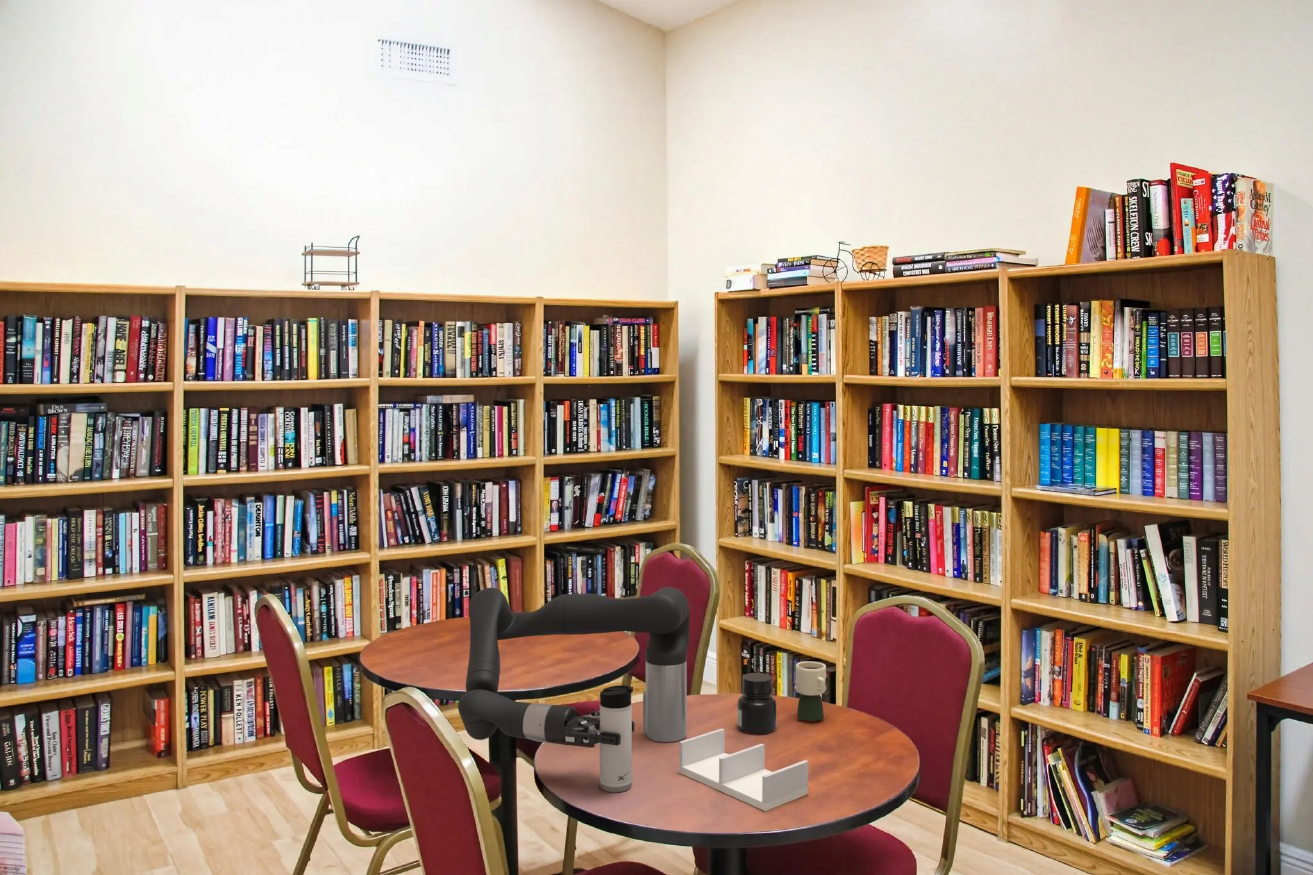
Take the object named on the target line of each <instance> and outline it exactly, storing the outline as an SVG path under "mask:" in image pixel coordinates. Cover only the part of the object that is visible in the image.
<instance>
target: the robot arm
mask: <svg viewBox="0 0 1313 875" xmlns="http://www.w3.org/2000/svg"><path fill="white" fill-rule="evenodd" d="M468 615H469V634H470V635H469V638H470V639H469V655H468V656H469V657H468V665H467V673H466V679H465V693H464V694H462V696H461V697H460V698H459V700H458V703H457V710H458V714H459V716H460V718H461V721H462V724H463V726H464V728H465V731H466V733H467V734H468V735H469V737H470V738H472V739H474V740H477V741H484V740H487V739H489V738H490V737H492V736H493V735H494V733H495V732H496V731H497V729H498V728H499V730H500V731H501V732H502V733H503V734H504V735H505V736H508V737H511V738H519V739H526V740H530V741H535V742H539V743H546V744H553V745H554V744H555V745H560V746H561V745H563V746H571V747H572V746H573V747H579V748H581V747H582V748H590V749H591V748H595V745H596V746H600V745H601V743H602V744H609V745H616V746H618V745H619V744H620V743H621V735H620V734H619V733H613V732H605V731H603V732H602V733H601V731H600V710H599V711H598V710H591V711H590V714H584V715H581V716H580V714H578V711H577V709H576V708H575V707H574V706H568V705H560V704H552V703H546V702H545V703H544V702H543V703H541V702H539V703H537V702H536V703H534V702H533V703H531V702H526V701H515V700H512V699H511V698H509V697H506V696H503V695H501V694H499V684H500V675H501V658H500V650H499V642H498V641H503V640H504V641H505V640H510V639H511V640H512V639H519V638H520V639H521V638H527V637H536V636H537V637H539V636H540V637H541V636H557V635H562V636H565V635H566V636H570V635H571V636H573V635H574V636H575V635H593V634H594V635H596V634H609V633H617V632H618V633H619V632H629V633H642V634H643V633H645V634H648V635H649V637H648V640H647V641H648V642H647V644H646V648H645V690H644V691H643V692H642V733H643V734H645V737H646V738H647V739H649V740H651V741H654V742H660V743H673V742H678V741H679V742H680V741H683V740H684V739H685V738H686V737H687V716H688V715H687V714H688V713H687V708H688V707H687V696H688V695H687V690H688V689H687V680H688V678H687V677H688V676H687V671H688V670H687V661H688V658H687V657H688V655H687V654H688V650H689V643H690V618H691V617H690V616H691V615H690V604H689V601H688V598H687V597H686V595H685V594H684V592H682V591H681V589H678V588H676V587H672V586H666V587H661V588H660V589H658V590H657V591H655V592H654V593H653V594H651V595H646V596H640V597H639V596H638V597H632V598H630V597H629V598H614V597H610V596H606V595H603V594H596V593H568V594H567V593H565V594H561V595H558V596H556V597H554V598H552V599H550V600H549V601H547V603H545V604H544V605H542V606H541V607H540V608H539V607H538V609H536V610H533V611H528V612H514V611H512V609H511V606H510V604H509V601H508V599H507V597H506V595H505V594H504V592H503V591H502V590H501V589H499V588H496V587H487V588H483V589H481V590H479V591H477V592H475V593H474V594H473V595H472V597H471V598H470V600H469V602H468ZM635 728H636V727H635V722H634V721H633V720H632V733H634V732H635Z"/></svg>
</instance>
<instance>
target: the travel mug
mask: <svg viewBox="0 0 1313 875" xmlns="http://www.w3.org/2000/svg"><path fill="white" fill-rule="evenodd" d="M633 692H634V687H633V686H630V685H622V684H621V685H613V686H608V687H605V688H603V689H602V690H601V691H600V693H599V712H600V731H601V733H602V732H603V731H605V732H613V733H619V734H620V735H621V743H620V744H619V745H618V746H616V745H609V744H602V743H601V745H599V787H600V788H601V789H602V790H603V791H605V792H609V793H621V792H626V791H628V790H629V789H630V788H632V785H633V783H632V777H633V776H632V771H633V769H632V768H633V767H632V764H633V763H632V762H633V761H632V760H633V759H632V755H633V754H632V752H633V751H632V746H633V745H632V742H633V740H632V737H633V736H632V735H633V732H632V721H633V720H632V716H633V714H632V712H633V711H632V709H633V708H632V705H633V704H632V693H633Z"/></svg>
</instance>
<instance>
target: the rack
mask: <svg viewBox="0 0 1313 875" xmlns="http://www.w3.org/2000/svg"><path fill="white" fill-rule="evenodd" d="M765 750H766V748H765V744H764V743H760V744H759V743H758V744H756V745H754V746H750V747H747V748H745V749H742V750H739V751H735V752H733V753H730V754H729V753H726V752H725V729H724V728H719V729H716V730H713V731H709V732H706V733H703V734H700V735H697V736H694V737H691V738H688V739H685V740H684V739H683V740H680V741H679V774H681V775H684V776H685V777H688V778H690V779H693V780H694V781H697V782H699V783H701V784H703V785H705V786H708V787H710V788H712V789H715V790H717V791H719V792H722V793H723V794H726V795H727V796H730V797H732V798H735V799H737V800H739V801H741V802H743V803H746V804H748V805H750V806H752V807H755V808H757V809H759V810H762V811H764V812H767V811H770V810H772V809H775V808H777V807H779V806H782V805H784V804H787V803H790V802H792V801H795V800H797V799H799V798H802V797H804V796H807V795H809V761H808V760H806V759H804V760H802V761H799V762H796V763H793V764H791V765H789V766H786V767H784V768H780V769H778V770H775V771H771V770H769V769H767V768H765V762H766V761H765V756H766V755H765Z"/></svg>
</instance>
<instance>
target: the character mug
mask: <svg viewBox="0 0 1313 875" xmlns="http://www.w3.org/2000/svg"><path fill="white" fill-rule="evenodd" d="M795 664H796V665H795V692H797V693H798V694H800V695H799V697H798V698H799V699H798V702H797V712H796V717H797V719H799V720H802V721H812V722H815V721H821V720H822V721H823V719H824V718H825V717H824V714H825V713H824V704H823V699H822V696H821V695H822V694H824V693H825V692H826V690H827V687H826V680H827V679H826V678H827V665H826V664H825V663H822V662H819V661H808V660H807V661H800V662H796V663H795Z"/></svg>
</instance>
